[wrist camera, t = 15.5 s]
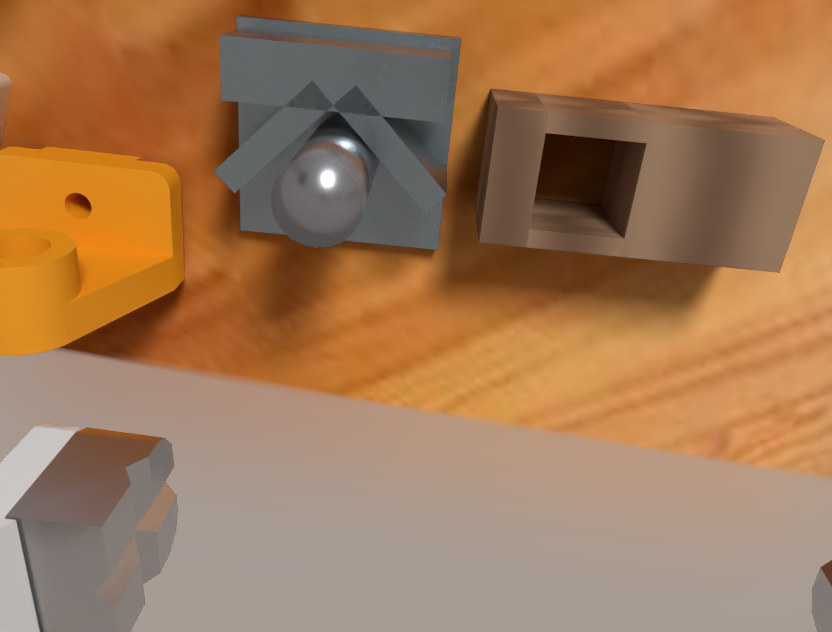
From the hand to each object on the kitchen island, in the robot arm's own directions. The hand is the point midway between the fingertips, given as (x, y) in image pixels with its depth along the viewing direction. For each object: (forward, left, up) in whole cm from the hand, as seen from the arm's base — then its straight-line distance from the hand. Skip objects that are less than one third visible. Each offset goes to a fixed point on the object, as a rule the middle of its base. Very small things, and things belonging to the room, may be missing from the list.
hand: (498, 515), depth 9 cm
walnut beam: (-10, +3, -35) cm, 36 cm away
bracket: (+21, +9, -35) cm, 42 cm away
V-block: (+6, +3, -35) cm, 35 cm away
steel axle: (+6, +4, -34) cm, 34 cm away
